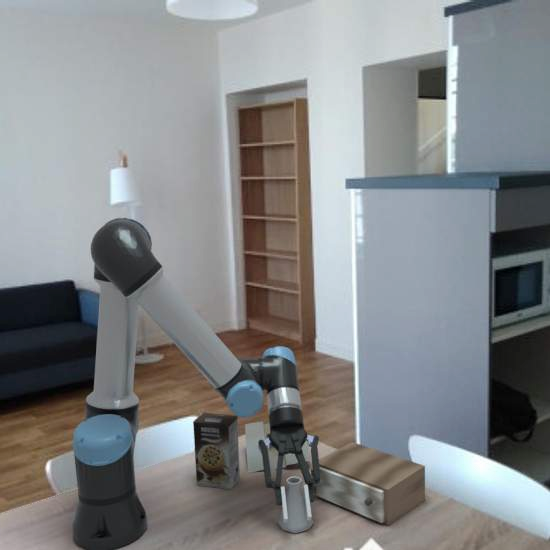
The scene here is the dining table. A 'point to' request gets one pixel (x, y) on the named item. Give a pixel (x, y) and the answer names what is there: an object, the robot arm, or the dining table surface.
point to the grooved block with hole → (255, 456)
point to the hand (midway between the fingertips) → (297, 519)
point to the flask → (295, 508)
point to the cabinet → (371, 482)
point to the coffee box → (216, 450)
